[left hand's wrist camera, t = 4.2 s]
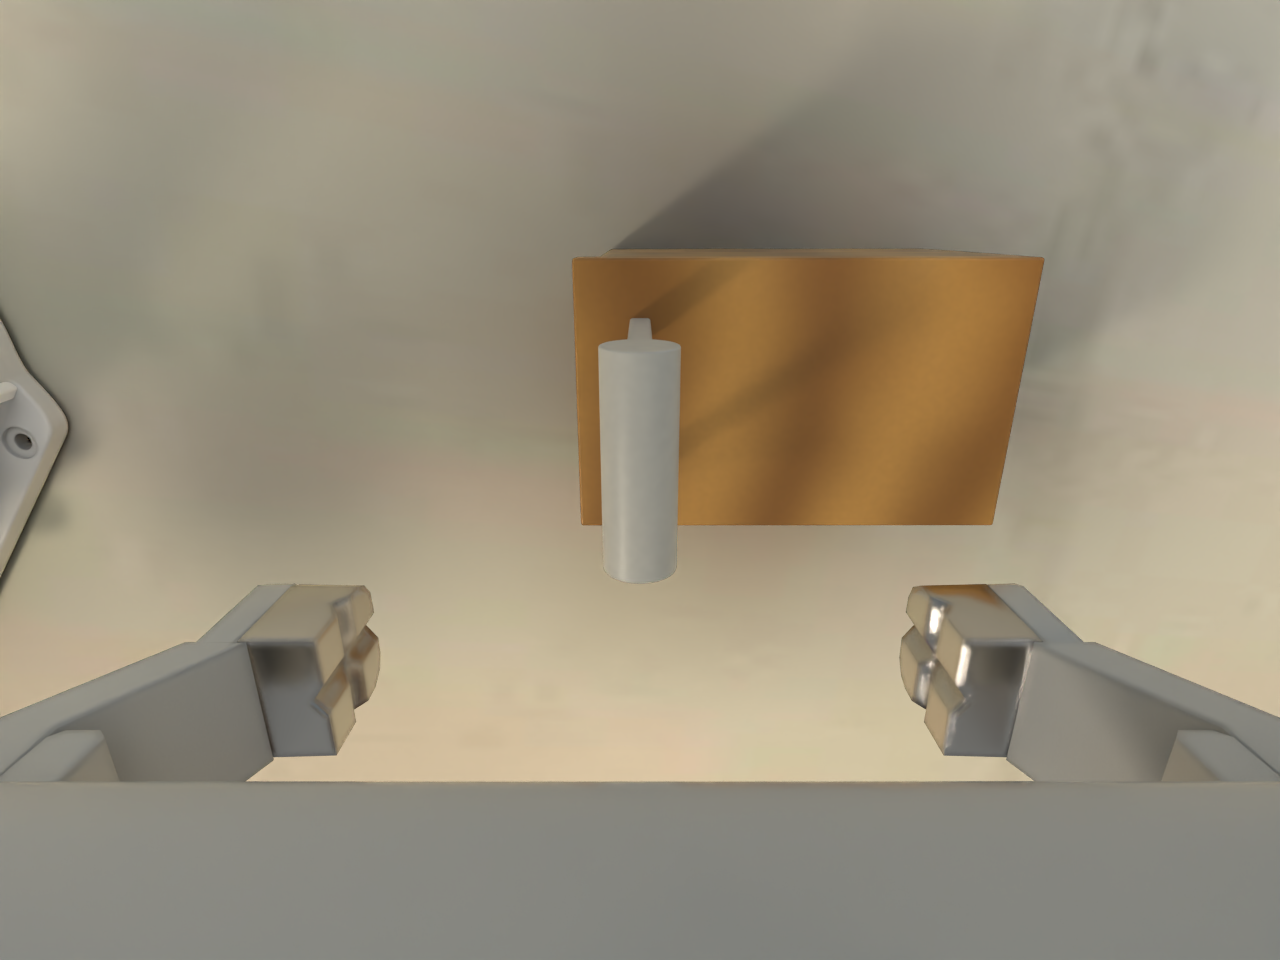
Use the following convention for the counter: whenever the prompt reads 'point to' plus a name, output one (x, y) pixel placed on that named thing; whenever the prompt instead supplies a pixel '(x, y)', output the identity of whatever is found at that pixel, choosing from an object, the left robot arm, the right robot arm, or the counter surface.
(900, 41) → the counter surface
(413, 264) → the counter surface
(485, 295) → the counter surface
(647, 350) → the lid
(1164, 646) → the counter surface
